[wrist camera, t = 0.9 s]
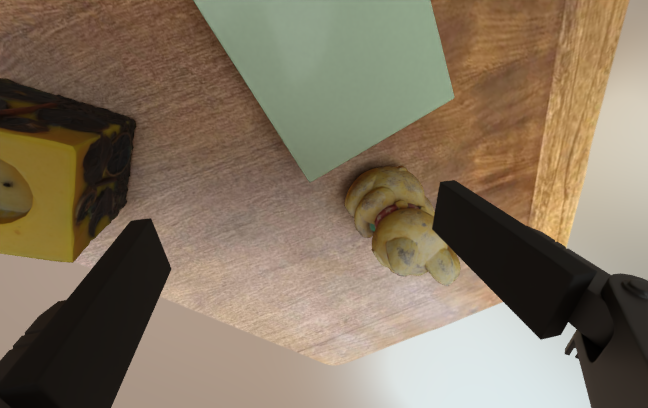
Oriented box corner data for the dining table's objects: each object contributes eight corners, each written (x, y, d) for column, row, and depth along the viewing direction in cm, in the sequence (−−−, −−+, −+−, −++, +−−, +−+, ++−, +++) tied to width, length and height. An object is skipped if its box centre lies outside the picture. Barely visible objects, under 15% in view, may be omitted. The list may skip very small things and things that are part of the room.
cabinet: (193, -16, 22) (158, -53, 15) (338, -114, 21) (379, -207, 14) (298, 152, 30) (309, 183, 23) (406, 88, 29) (455, 98, 22)
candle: (6, 182, 26) (-120, 244, 18) (-3, 74, 22) (-170, 84, 14) (128, 207, 30) (72, 269, 21) (138, 117, 26) (75, 146, 17)
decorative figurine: (331, 209, 35) (371, 299, 22) (353, 147, 31) (416, 210, 18) (396, 221, 38) (466, 307, 25) (422, 166, 34) (519, 231, 21)
